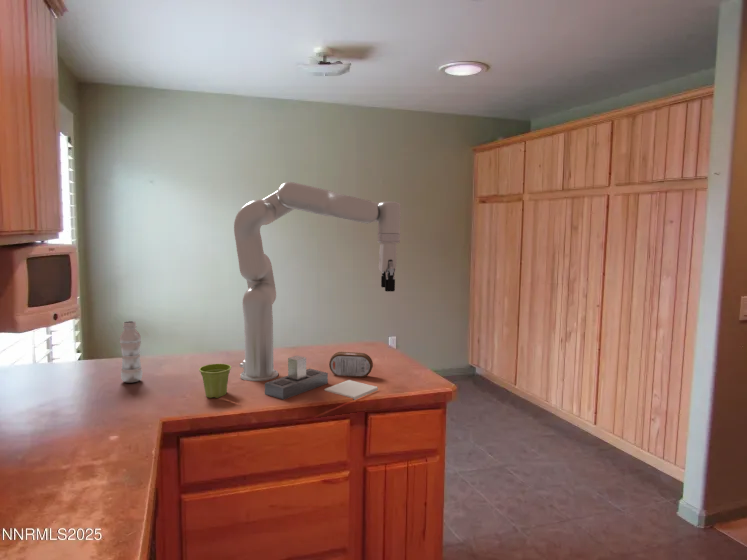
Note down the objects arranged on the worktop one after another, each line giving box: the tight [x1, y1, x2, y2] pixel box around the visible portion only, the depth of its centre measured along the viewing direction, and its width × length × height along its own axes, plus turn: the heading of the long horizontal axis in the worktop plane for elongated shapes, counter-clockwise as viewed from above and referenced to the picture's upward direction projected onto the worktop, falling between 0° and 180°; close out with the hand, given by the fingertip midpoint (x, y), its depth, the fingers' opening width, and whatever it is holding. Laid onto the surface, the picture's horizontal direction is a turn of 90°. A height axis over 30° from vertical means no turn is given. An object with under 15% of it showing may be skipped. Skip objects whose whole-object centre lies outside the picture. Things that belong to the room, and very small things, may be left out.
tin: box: [328, 351, 374, 378], centre depth 185 cm, size 15×3×8 cm, turn 84°
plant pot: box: [198, 363, 232, 399], centre depth 164 cm, size 9×9×9 cm
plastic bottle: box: [119, 320, 143, 384], centre depth 175 cm, size 6×7×20 cm
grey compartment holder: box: [264, 368, 329, 401], centre depth 170 cm, size 8×20×4 cm, turn 143°
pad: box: [324, 379, 379, 401], centre depth 170 cm, size 12×12×1 cm
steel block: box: [287, 355, 307, 382], centre depth 170 cm, size 4×4×10 cm
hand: (387, 289), depth 182 cm, fingers open, 9 cm apart
